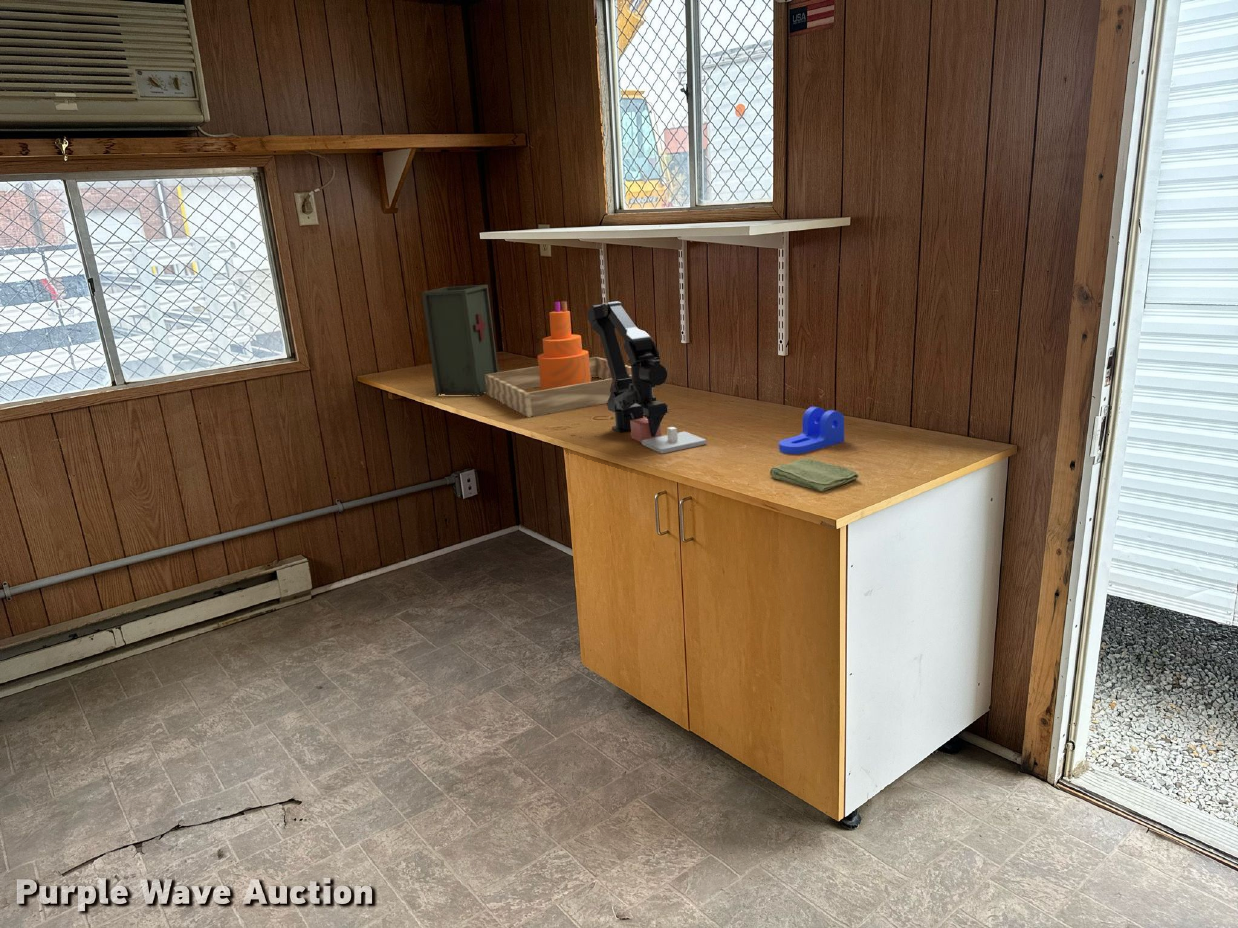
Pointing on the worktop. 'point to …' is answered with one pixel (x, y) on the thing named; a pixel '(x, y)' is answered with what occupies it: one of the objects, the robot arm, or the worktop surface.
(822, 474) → the washcloth
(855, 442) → the worktop surface
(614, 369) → the robot arm
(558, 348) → the cake
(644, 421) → the pink slotted box
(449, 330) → the first aid box
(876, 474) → the worktop surface
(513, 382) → the storage crate
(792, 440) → the bracket
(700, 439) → the peg base plate
